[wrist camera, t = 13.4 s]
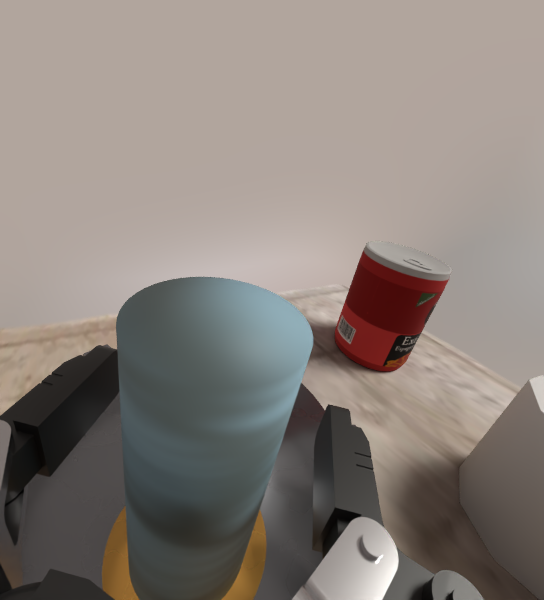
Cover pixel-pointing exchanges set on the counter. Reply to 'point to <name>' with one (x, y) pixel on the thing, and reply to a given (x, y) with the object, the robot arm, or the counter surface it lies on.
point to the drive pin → (202, 425)
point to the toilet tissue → (511, 488)
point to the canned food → (389, 304)
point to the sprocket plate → (112, 514)
